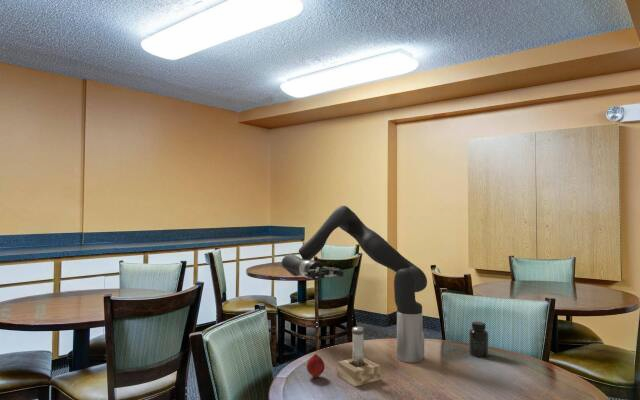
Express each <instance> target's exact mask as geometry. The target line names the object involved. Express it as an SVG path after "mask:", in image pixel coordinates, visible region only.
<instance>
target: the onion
mask: <svg viewBox="0 0 640 400" xmlns="http://www.w3.org/2000/svg"><path fill="white" fill-rule="evenodd" d="M325 366H326V365H325V362H324V360H323V359H322V357H321V356H319V355H318V353H316V352H313V355H312V356H311V357H309V359H308V360H307V363H306V370H307V372H308V373H309V375H311V376H312V378H314V379H316V378H318V377H320V376H321V375H322V374H323V373H324V371H325Z"/></svg>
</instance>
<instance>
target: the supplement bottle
mask: <svg viewBox="0 0 640 400" xmlns="http://www.w3.org/2000/svg"><path fill="white" fill-rule="evenodd" d="M486 328H487V327H486V323H485V322H482V321H472V322H471V328H470V330H469V332H468V338H469V339H468V341H469V342H468V346H469V347H468V349H469V350H468V353H469V355H470V356H472V357H474V356H475V357H474V358H480V357H484V358H487V357H489V332H488V331H487V330H486Z"/></svg>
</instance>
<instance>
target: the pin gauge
mask: <svg viewBox="0 0 640 400" xmlns="http://www.w3.org/2000/svg"><path fill="white" fill-rule="evenodd" d="M351 332H352V358H353V366H355V367H356V368H357V367H362V366H364V358H365V355H364V347H365V343H364V335H365V330H364V327H363V326H354V327H352V329H351Z"/></svg>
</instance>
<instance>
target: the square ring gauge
mask: <svg viewBox="0 0 640 400" xmlns="http://www.w3.org/2000/svg"><path fill="white" fill-rule="evenodd" d="M336 375H337V376H338V377H339V378H341V379H342V380H344V381H345V382H347V383H348V384H350V385H352V386H354V387H357V386H362V385H365V384H370V383H373V382H374V383H375V382H377V381H381V365H380V364H377V363H376V362H373V361H371V360H369V359H367V358H366V357H364V366H362V367H357V368H356V367H355V366H353V357H352V358H348V359H345V360H340V361H339V360H338V361H337V362H336Z"/></svg>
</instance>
